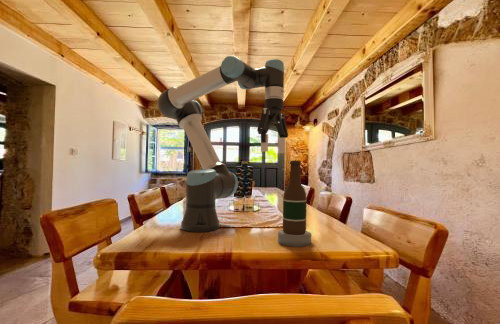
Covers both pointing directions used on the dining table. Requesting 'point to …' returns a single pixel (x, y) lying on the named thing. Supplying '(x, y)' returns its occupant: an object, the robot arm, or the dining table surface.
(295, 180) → the beer bottle
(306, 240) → the slate pedestal
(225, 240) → the dining table surface
